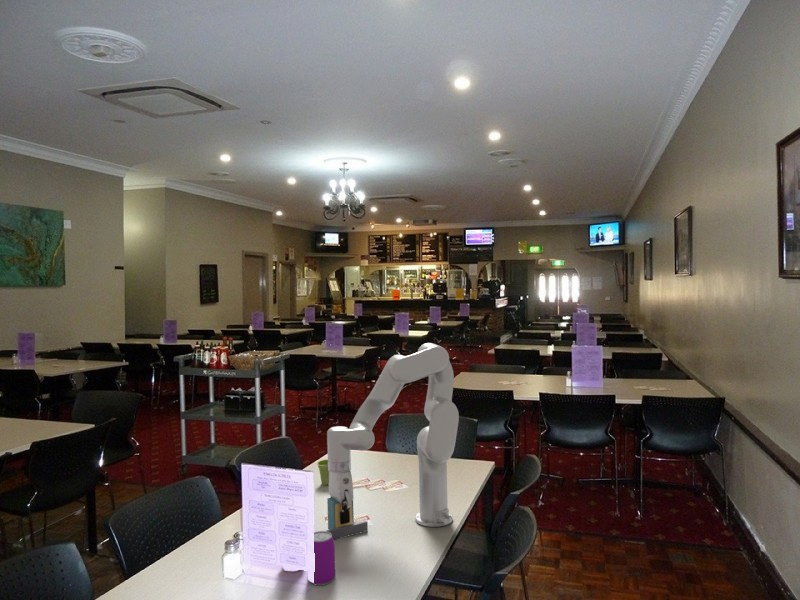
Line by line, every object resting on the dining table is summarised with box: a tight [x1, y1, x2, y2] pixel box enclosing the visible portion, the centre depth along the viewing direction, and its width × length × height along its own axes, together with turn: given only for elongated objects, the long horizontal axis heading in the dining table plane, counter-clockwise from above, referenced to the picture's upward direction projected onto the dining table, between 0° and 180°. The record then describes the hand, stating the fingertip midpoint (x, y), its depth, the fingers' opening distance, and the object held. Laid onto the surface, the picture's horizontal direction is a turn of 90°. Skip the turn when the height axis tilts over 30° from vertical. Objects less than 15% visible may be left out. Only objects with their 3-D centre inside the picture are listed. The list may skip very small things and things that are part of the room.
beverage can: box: [313, 530, 336, 586], centre depth 156 cm, size 8×8×12 cm
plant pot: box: [316, 458, 329, 486], centre depth 235 cm, size 9×9×9 cm
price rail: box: [325, 520, 369, 541], centre depth 186 cm, size 4×14×3 cm, turn 120°
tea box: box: [326, 496, 355, 530], centre depth 189 cm, size 5×7×10 cm
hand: (340, 519), depth 189 cm, fingers open, 5 cm apart
